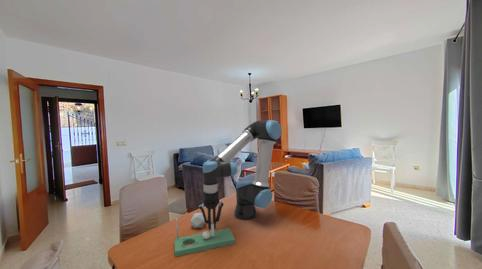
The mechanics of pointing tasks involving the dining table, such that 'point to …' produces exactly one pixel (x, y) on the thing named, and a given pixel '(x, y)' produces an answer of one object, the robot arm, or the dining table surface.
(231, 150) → the robot arm
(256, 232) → the dining table surface
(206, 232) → the ball
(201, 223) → the die
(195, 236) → the mini golf green
